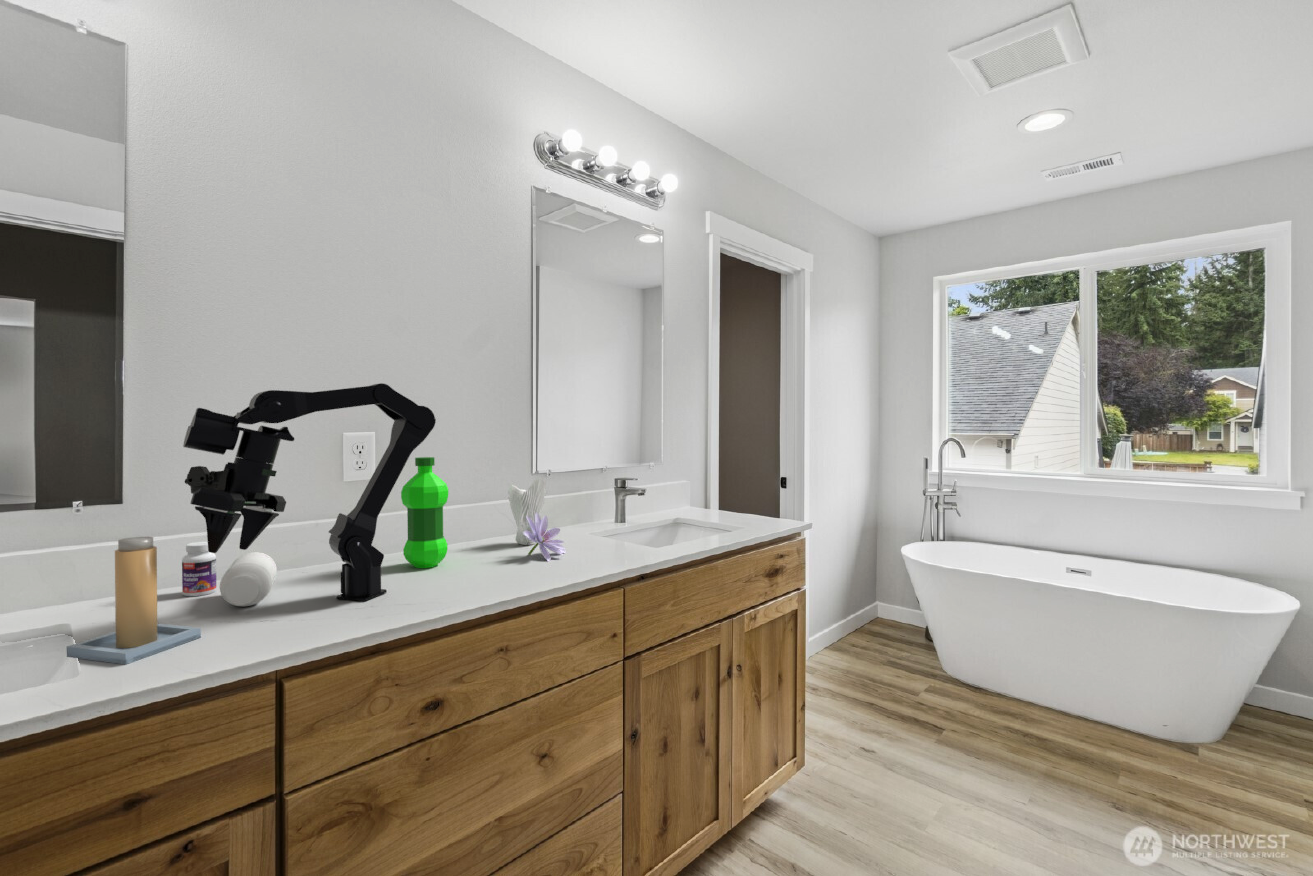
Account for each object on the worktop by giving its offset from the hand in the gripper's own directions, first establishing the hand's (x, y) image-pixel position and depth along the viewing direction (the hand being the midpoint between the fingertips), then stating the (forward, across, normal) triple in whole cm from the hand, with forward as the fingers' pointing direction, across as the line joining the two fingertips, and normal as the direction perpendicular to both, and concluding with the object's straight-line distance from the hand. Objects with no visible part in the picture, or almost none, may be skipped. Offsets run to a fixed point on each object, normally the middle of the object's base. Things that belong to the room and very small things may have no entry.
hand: (228, 550), depth 106 cm
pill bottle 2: (+6, -19, -4) cm, 20 cm away
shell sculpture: (-7, -60, +44) cm, 74 cm away
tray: (+14, +10, -4) cm, 18 cm away
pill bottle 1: (+12, -19, -12) cm, 26 cm away
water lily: (-6, -44, +50) cm, 67 cm away
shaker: (+14, +10, -4) cm, 18 cm away
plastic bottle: (+1, -38, +24) cm, 45 cm away
